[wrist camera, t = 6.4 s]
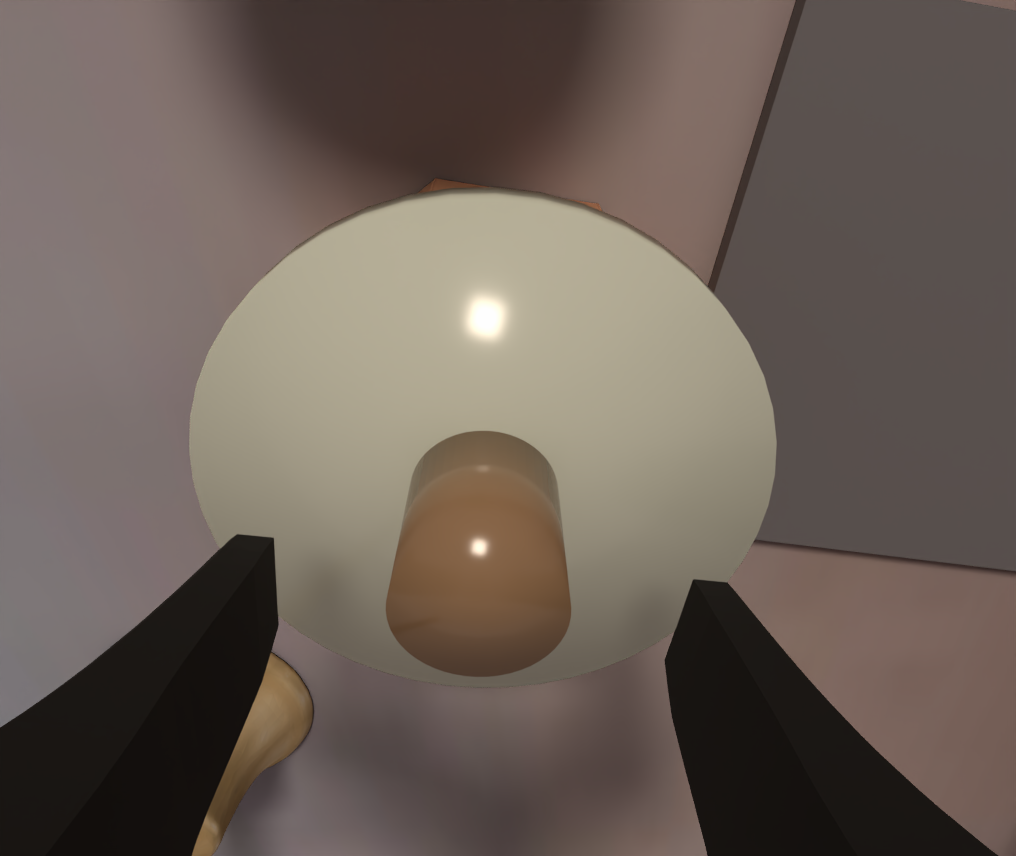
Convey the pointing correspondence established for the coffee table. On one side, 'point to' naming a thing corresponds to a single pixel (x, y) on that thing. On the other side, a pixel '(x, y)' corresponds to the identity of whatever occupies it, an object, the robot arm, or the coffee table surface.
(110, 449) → the coffee table surface
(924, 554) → the mat
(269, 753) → the hand bell
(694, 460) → the lid
